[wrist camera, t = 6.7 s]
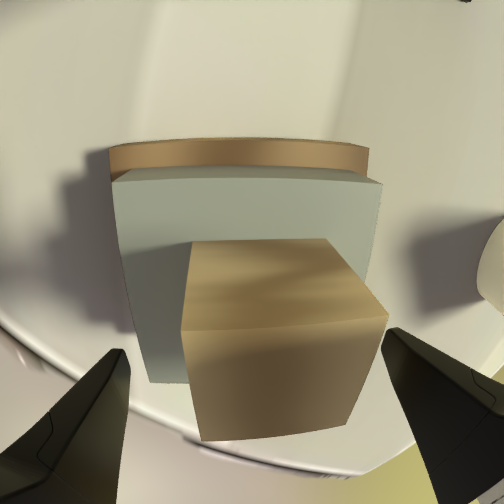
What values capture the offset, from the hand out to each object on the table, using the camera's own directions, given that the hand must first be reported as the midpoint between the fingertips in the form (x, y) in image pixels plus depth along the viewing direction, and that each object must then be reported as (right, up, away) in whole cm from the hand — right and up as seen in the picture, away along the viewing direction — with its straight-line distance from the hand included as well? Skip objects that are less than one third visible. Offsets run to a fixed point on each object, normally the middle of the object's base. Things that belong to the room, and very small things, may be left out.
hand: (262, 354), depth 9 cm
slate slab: (-1, +2, +6) cm, 6 cm away
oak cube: (0, +1, +3) cm, 3 cm away
